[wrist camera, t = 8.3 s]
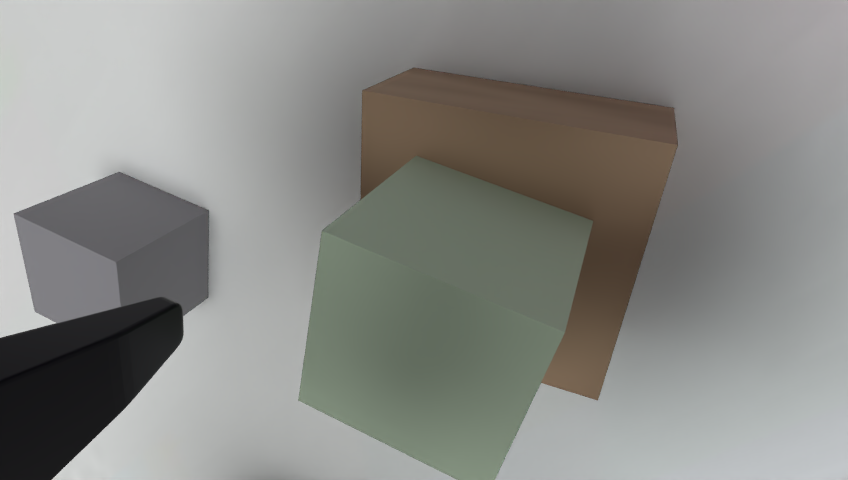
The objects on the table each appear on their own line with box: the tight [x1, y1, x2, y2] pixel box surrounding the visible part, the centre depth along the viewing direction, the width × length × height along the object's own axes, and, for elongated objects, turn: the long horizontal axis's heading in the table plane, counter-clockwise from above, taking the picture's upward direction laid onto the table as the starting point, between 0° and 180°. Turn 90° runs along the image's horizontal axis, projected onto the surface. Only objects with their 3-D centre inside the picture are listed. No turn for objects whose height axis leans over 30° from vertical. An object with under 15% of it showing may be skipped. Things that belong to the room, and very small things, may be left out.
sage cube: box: [298, 156, 593, 480], centre depth 13 cm, size 5×5×5 cm
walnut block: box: [361, 68, 678, 400], centre depth 17 cm, size 8×8×4 cm
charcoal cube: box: [14, 172, 209, 323], centre depth 24 cm, size 5×5×5 cm
